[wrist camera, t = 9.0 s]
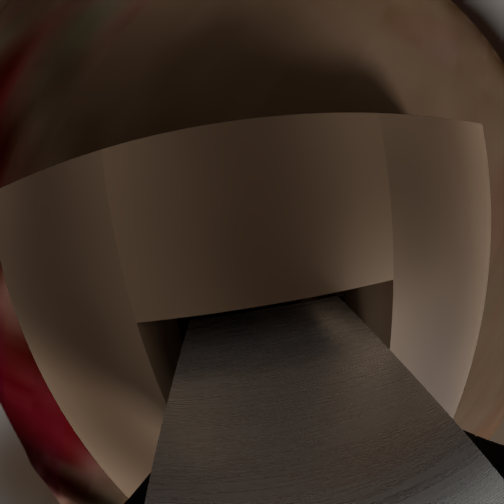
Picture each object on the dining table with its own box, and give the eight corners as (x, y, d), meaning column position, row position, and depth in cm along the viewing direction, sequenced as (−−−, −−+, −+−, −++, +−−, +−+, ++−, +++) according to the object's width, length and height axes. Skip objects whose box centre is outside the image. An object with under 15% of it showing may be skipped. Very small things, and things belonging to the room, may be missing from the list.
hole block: (151, 461, 13) (141, 511, 9) (52, 189, 10) (-11, 193, 6) (406, 416, 14) (435, 457, 10) (419, 136, 10) (482, 124, 6)
